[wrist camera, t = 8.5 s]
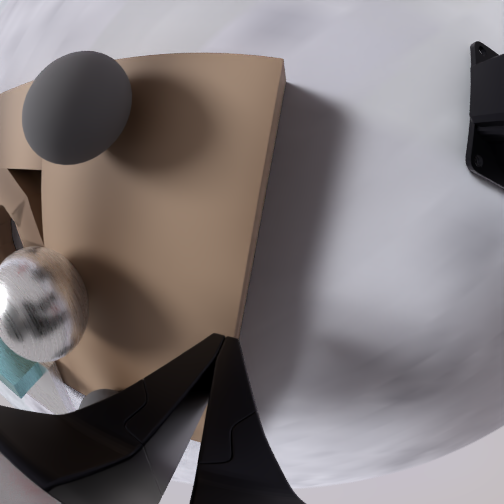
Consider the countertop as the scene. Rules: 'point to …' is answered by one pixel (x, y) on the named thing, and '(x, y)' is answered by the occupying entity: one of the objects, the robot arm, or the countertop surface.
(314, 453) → the countertop surface
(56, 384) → the cover
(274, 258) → the countertop surface
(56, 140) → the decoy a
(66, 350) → the ball
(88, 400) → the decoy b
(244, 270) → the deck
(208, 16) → the countertop surface
